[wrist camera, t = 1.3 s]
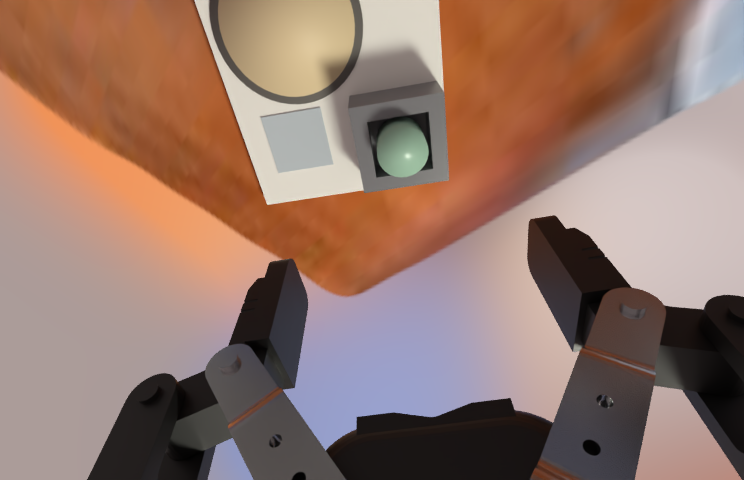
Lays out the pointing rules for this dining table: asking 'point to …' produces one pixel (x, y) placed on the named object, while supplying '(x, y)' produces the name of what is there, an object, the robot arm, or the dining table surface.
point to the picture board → (315, 79)
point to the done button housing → (402, 101)
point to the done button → (401, 147)
